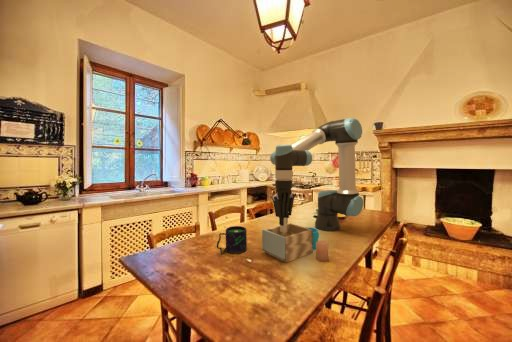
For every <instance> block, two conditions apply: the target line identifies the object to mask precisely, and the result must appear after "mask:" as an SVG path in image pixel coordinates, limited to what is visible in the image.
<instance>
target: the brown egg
mask: <svg viewBox="0 0 512 342" xmlns="http://www.w3.org/2000/svg"><path fill="white" fill-rule="evenodd" d="M315 260H316V261H318V262H321V263H322V262H323V263H325V262H328V261H329V242H327V241H324V240H318V241H317V242H316V249H315Z"/></svg>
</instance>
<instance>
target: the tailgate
mask: <svg viewBox="0 0 512 342" xmlns="http://www.w3.org/2000/svg"><path fill="white" fill-rule="evenodd" d="M261 230H262V231H261V234H262V235H261V239H262V240H261V243H262V245H261V246H262V251H263V252H265V253H266V252H267V253H266V254H268V253H269V254H268V255H270V254H271V255H270V256H272V255H273V256H272V257H274V256H275V257H274V258H276V257H277V258H276V259H278V258H279V259H278V260H280V259H281V260H280V261H282V260H283V261H282V262H284V261H285V237H283V236H281V235H278V234H276V233H273V232H270V231H268V230H266V229H265V228H263V229H261Z"/></svg>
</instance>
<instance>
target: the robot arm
mask: <svg viewBox="0 0 512 342" xmlns="http://www.w3.org/2000/svg"><path fill="white" fill-rule="evenodd" d="M362 136H363V127H362V124H361V123H360V121H359V120H358V119H357V118H355V117H349V118H348V117H347V118H342V119H337V120H332V121H328V122H325V123H324V124H321V125H320V126H318V127H316V128H314V129H313V130H312V131H311V133H309V134H307V135H306V136H304V137H302V138H300V139H298V140H297V141H295V142H293V143H292V144H277V145H276V146H275V151H273V152H272V153H271V154H270V157H269V158H270V162H271V164H272V165H274V166H275V167H274V168H275V171H274V172H275V173H274V174H275V176H274V177H275V179H276V180H275V182H274V183H275V184H274V185H275V187H274V188H275V189H276V191H275V194H274V195H271V200H272V203H273V207H274V208H273V209H274V214H275V217H277V218H279V219H278V221H279V222H278V224H279V226H280V232H283V233H286V232H287V224H289V221H288V218H290V216H292V212H293V206H294V201H295V198H296V194H295V193H292V189H293V167H307V166H309V165H311V164H312V162H313V155H312V152H311V151H310V150H311V149H313V148H314V147H316V146H318V145H323V144H325V143H328V142H334V143H335V144H334V145H336V146H337V147H338V148H337V149H338V150H337V151H338V153H337V154H338V178H339V179H338V181H339V182H338V186H339V189H337V190H332V189H331V190H322V191H321V190H320V191H319V192H318V193H317V216H316V219H315V221H314V228H315V229H317V230H320V231H325V232H336V231H337V232H338V231H339V230H341V223H340V220H339V216H338V214H340V215H344V216H347V217H357V216H359V215H360V214H361V212H362V211H363V208H364V202H365V201H364V198H363V196H361V195H359V194H360V193H359V192H360V191H358V189H357V187H356V182H357V181H356V145H357V144H358V140H359V139H361V138H362Z"/></svg>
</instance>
